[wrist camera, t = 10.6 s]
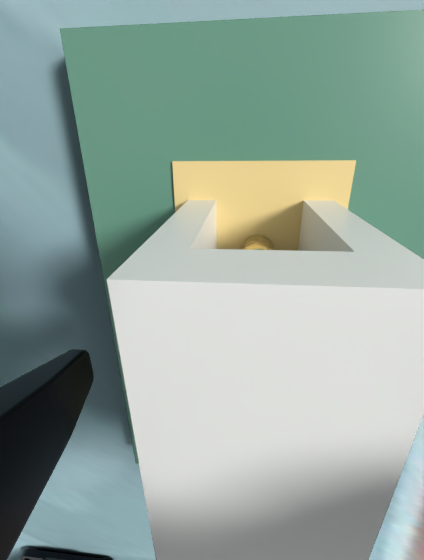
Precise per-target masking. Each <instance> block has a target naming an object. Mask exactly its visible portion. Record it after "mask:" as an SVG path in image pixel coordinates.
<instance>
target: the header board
mask: <svg viewBox="0 0 424 560" xmlns="http://www.w3.org/2000/svg"><path fill="white" fill-rule="evenodd" d="M60 33H61V39H62V44H63V50H64V56H65V62H66V67H67V73H68V79H69V84H70V90H71V96H72V102H73V107H74V113H75V119H76V124H77V130H78V136H79V142H80V147H81V153H82V159H83V164H84V170H85V176H86V181H87V187H88V193H89V199H90V204H91V210H92V216H93V221H94V227H95V233H96V239H97V244H98V250H99V256H100V261H101V267H102V273H103V279H104V284H105V290H106V296H107V301H108V307H109V313H110V318H111V324H112V330H113V336H114V341H115V347H116V353H117V358H118V364H119V370H120V376H121V381H122V387H123V393H124V398H125V404H126V410H127V416H128V421H129V427H130V433H131V438H132V444H133V450H134V455H135V461H136V463H138V464H139V460H138V455H137V449H136V443H135V438H134V432H133V426H132V421H131V415H130V409H129V404H128V398H127V392H126V387H125V381H124V375H123V370H122V364H121V358H120V353H119V347H118V341H117V335H116V330H115V324H114V318H113V313H112V307H111V301H110V296H109V290H108V284H107V279H108V278H109V277H110V276H111V275H112V274H113V273H114V272H115V271H116V270H117V269H118V268H119V267H120V266H121V265H122V264H123V263H124V262H125V261H126V260H127V259H128V258H129V257H130V256H131V255H132V254H133V253H134V252H135V251H136V250H137V249H138V248H139V247H141V246H142V245H143V244H144V243H145V242H146V241H147V240H148V239H149V238H150V237H151V236H152V235H153V234H154V233H155V232H156V231H157V230H158V229H159V228H160V227H161V226H162V225H163V224H164V223H165V222H166V221H167V220H168V219H169V218H170V217H171V216H172V215H173V214H174V213H175V212H176V211H178V210H179V209H180V208H181V207H182V206H183V205H184V204H185V203H186V202H187V201H188V200H216V228H217V249H238V250H290V251H298V247H299V237H300V228H301V219H302V210H303V201H304V200H334V201H335V202H337V203H339V204H340V205H342V206H343V207H345V208H346V209H348V210H349V211H351V212H352V213H354V214H355V215H357V216H358V217H360V218H361V219H363V220H364V221H366V222H367V223H369V224H370V225H372V226H374V227H375V228H377V229H378V230H380V231H381V232H383V233H384V234H386V235H387V236H389V237H390V238H392V239H393V240H395V241H396V242H398V243H399V244H401V245H402V246H404V247H405V248H407V249H409V250H410V251H412V252H413V253H415V254H416V255H418V256H419V257H421V258H422V259H424V10H407V11H388V12H369V13H350V14H331V15H312V16H292V17H273V18H254V19H235V20H216V21H197V22H177V23H158V24H139V25H120V26H101V27H82V28H62V29H60Z"/></svg>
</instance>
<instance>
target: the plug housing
mask: <svg viewBox="0 0 424 560" xmlns="http://www.w3.org/2000/svg"><path fill="white" fill-rule="evenodd" d="M107 284H108V290H109V296H110V301H111V307H112V313H113V318H114V324H115V330H116V335H117V341H118V347H119V353H120V358H121V364H122V370H123V375H124V381H125V387H126V392H127V398H128V404H129V409H130V415H131V421H132V426H133V432H134V438H135V443H136V449H137V455H138V460H139V466H140V472H141V477H142V483H143V489H144V494H145V500H146V506H147V511H148V517H149V523H150V528H151V534H152V540H153V546H154V551H155V557H156V560H369V557H370V554H371V552H372V549H373V546H374V544H375V541H376V539H377V536H378V533H379V531H380V528H381V525H382V523H383V520H384V518H385V515H386V512H387V510H388V507H389V504H390V502H391V499H392V497H393V494H394V491H395V489H396V486H397V483H398V481H399V478H400V476H401V473H402V470H403V468H404V465H405V462H406V460H407V457H408V454H409V452H410V449H411V447H412V444H413V441H414V439H415V436H416V433H417V431H418V428H419V426H420V423H421V420H422V418H423V415H424V259H422V258H421V257H419V256H418V255H416V254H415V253H413V252H412V251H410V250H409V249H407V248H405V247H404V246H402V245H401V244H399V243H398V242H396V241H395V240H393V239H392V238H390V237H389V236H387V235H386V234H384V233H383V232H381V231H380V230H378V229H377V228H375V227H374V226H372V225H370V224H369V223H367V222H366V221H364V220H363V219H361V218H360V217H358V216H357V215H355V214H354V213H352V212H351V211H349V210H348V209H346V208H345V207H343V206H342V205H340V204H339V203H337V202H335V201H334V200H304V201H303V210H302V219H301V228H300V237H299V247H298V251H290V250H238V249H217V228H216V200H188V201H187V202H186V203H185V204H184V205H183V206H182V207H181V208H180V209H179V210H178V211H176V212H175V213H174V214H173V215H172V216H171V217H170V218H169V219H168V220H167V221H166V222H165V223H164V224H163V225H162V226H161V227H160V228H159V229H158V230H157V231H156V232H155V233H154V234H153V235H152V236H151V237H150V238H149V239H148V240H147V241H146V242H145V243H144V244H143V245H142V246H141V247H139V248H138V249H137V250H136V251H135V252H134V253H133V254H132V255H131V256H130V257H129V258H128V259H127V260H126V261H125V262H124V263H123V264H122V265H121V266H120V267H119V268H118V269H117V270H116V271H115V272H114V273H113V274H112V275H111V276H110V277H109V278H108V279H107Z"/></svg>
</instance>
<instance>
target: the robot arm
mask: <svg viewBox="0 0 424 560" xmlns="http://www.w3.org/2000/svg"><path fill="white" fill-rule="evenodd" d="M93 377H94V376H93V369H92V365H91V361H90V356H89V353H88V352H87V351H86V350H76V349H73V350H69V351H68V352H66V353H64V354H62V355H60V356H58V357H56V358H54V359H53V360H51V361H49V362H47V363H45V364H43V365H41V366H39V367H38V368H36V369H34V370H32V371H30V372H28V373H26V374H25V375H23V376H21V377H19V378H17V379H15V380H13V381H11V382H10V383H8V384H6V385H4V386H2V387H0V560H7V559H8V557H9V555H10V553H11V551H12V549H13V547H14V545H15V543H16V541H17V539H18V538H19V536H20V534H21V532H22V530H23V528H24V526H25V524H26V522H27V520H28V518H29V516H30V515H31V513H32V511H33V509H34V507H35V505H36V503H37V501H38V499H39V497H40V495H41V493H42V491H43V490H44V488H45V486H46V484H47V482H48V480H49V478H50V476H51V474H52V472H53V470H54V468H55V466H56V465H57V463H58V461H59V459H60V457H61V455H62V453H63V451H64V449H65V447H66V445H67V443H68V441H69V439H70V437H71V435H72V432H73V430H74V428H75V425H76V423H77V420H78V418H79V415H80V413H81V410H82V408H83V405H84V403H85V400H86V398H87V395H88V393H89V390H90V388H91V385H92V383H93ZM21 560H108V559H101V558H94V557H86V556H78V555H71V554H63V553H56V552H48V551H40V550H33V549H26V550H25V551H24V553H23V555H22V556H21Z"/></svg>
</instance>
